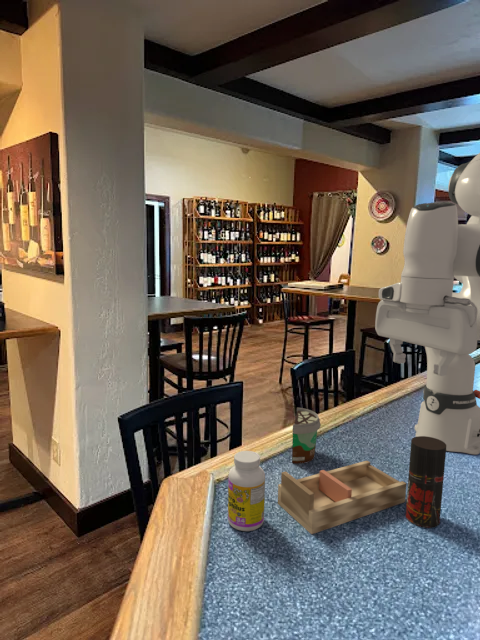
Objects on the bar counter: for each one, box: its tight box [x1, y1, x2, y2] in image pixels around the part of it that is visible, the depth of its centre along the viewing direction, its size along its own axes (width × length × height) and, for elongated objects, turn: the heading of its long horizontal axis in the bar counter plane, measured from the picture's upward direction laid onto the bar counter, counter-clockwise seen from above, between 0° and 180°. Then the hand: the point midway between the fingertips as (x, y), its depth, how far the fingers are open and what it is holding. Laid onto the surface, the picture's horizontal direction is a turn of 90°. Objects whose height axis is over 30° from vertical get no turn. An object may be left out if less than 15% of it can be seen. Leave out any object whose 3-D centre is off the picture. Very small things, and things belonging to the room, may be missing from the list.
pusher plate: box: [318, 469, 352, 502], centre depth 90 cm, size 1×8×4 cm, turn 28°
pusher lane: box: [277, 460, 408, 535], centre depth 90 cm, size 23×11×7 cm, turn 118°
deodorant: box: [405, 436, 447, 529], centre depth 85 cm, size 6×6×15 cm
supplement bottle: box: [227, 450, 266, 532], centre depth 83 cm, size 7×7×13 cm
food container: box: [291, 407, 321, 465], centre depth 110 cm, size 12×6×10 cm, turn 168°
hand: (418, 368), depth 85 cm, fingers open, 8 cm apart
